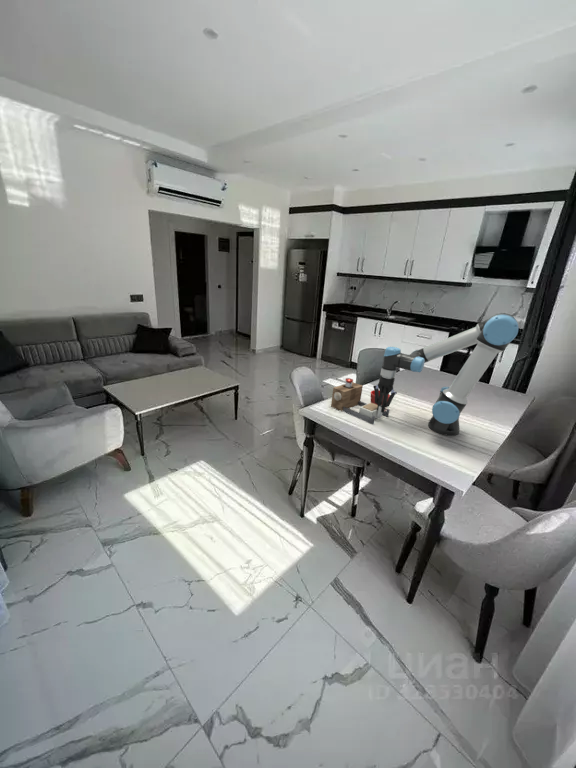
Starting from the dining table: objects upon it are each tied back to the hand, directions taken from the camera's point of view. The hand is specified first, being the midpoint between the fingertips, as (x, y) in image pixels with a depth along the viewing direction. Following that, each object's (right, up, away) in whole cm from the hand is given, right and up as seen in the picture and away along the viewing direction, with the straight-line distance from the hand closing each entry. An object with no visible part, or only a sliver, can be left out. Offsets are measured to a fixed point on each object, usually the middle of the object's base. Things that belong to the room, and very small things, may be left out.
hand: (379, 416), depth 172 cm
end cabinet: (-16, +5, +16) cm, 23 cm away
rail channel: (-6, +1, +7) cm, 9 cm away
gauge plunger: (-15, +13, +13) cm, 24 cm away
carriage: (-4, 0, +5) cm, 6 cm away
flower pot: (+3, +3, +15) cm, 16 cm away
